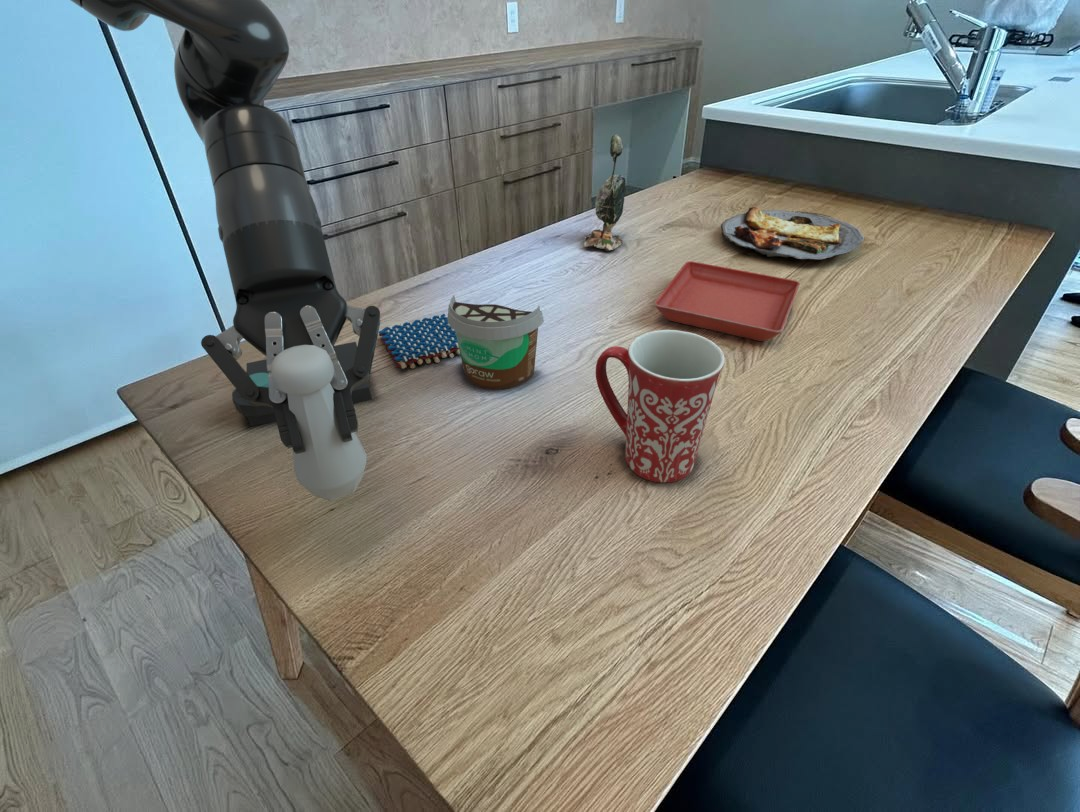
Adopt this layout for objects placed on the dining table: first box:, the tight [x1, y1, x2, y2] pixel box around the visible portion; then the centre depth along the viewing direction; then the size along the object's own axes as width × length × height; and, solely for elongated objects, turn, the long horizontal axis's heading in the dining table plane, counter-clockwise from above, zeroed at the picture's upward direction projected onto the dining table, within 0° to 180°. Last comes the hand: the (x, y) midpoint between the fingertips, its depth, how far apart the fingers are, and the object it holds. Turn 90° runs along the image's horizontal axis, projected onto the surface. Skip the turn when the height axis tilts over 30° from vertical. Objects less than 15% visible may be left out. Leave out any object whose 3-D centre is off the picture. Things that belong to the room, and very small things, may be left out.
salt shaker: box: [271, 345, 368, 502], centre depth 47 cm, size 6×6×13 cm
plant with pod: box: [583, 133, 628, 252], centre depth 107 cm, size 8×11×20 cm
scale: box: [231, 341, 373, 427], centre depth 73 cm, size 15×13×4 cm
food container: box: [447, 294, 545, 391], centre depth 73 cm, size 12×6×10 cm, turn 73°
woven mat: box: [378, 313, 460, 370], centre depth 82 cm, size 10×11×2 cm
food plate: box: [720, 206, 865, 260], centre depth 111 cm, size 25×23×4 cm
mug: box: [595, 329, 726, 483], centre depth 60 cm, size 13×9×14 cm
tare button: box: [249, 373, 269, 388], centre depth 68 cm, size 3×3×2 cm
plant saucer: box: [653, 260, 801, 342], centre depth 89 cm, size 18×18×3 cm
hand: (323, 444), depth 45 cm, fingers closed on salt shaker, 3 cm apart
